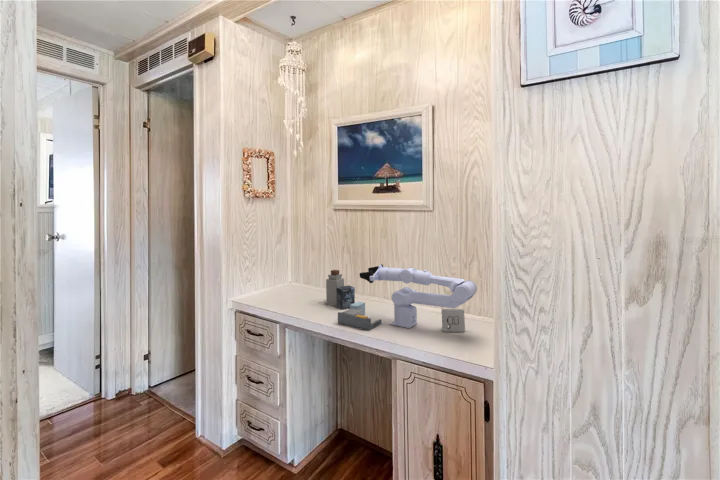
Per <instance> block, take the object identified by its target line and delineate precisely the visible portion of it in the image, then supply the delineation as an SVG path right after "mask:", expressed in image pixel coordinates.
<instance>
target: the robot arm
mask: <svg viewBox="0 0 720 480" xmlns="http://www.w3.org/2000/svg"><path fill="white" fill-rule="evenodd" d="M359 278H360V279H363V280H365V281H367V282H369V284H373V283H374V282H375V281H389V282H390V281H391V282H403V283H404V284H409V283H413V284H417V285H423V286H424V285H425V286H430V285H431V284H434V285H438V286H443V287H447V288H448V289H449V290H450V292H451V293H452V294H443V293H442V294H441V293H434V292H432V293H431V292H422V291H417V290H415V289H411V288H410V287H408V286H405V287H402V288H401V289H399V290H396V291H394V292H393V293H392V294H391V301H392V303H393V305H394V311H393V312H394V314H393V315H394V316H393V317H394V321H392V322H390V325H391V326H398V327H402V328H406V329H411V328H412V327H414V326H415V325H417V324H418V320H417V318H418V315H417V314H418V310H417V306H415V305H422V306H423V305H425V306H433V307H441V308H446V309H457V308H458V307H460V306H461V305H463V304H465V303H467V302H468V301H469V300H471V299H472V298H473V297H474V295H475V294H476V293H477V290H478V289H477V285H476V283H475V282H474V281H472V280H466V279H464V278H457V277H448V276H439V275H433V273H432V272H431V271H428V269H423V270H421V269H420V270H419V269H417V268H412V267H408V268H399V267H390V266H384V264H383V263H381V264H379V265H376V266H372V267H368V271H366V272H365V271H364V272H360V273H359ZM413 304H415V305H413Z"/></svg>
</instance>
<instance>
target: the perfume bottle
mask: <svg viewBox="0 0 720 480" xmlns="http://www.w3.org/2000/svg"><path fill="white" fill-rule="evenodd" d="M327 277H328V278H326V279H325V291H326V305H328V306H332V307H337V288H336V287H342V286H345V278H344V277H343V274H341V273H340V270H339V269H332V270H330V274H327Z"/></svg>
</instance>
